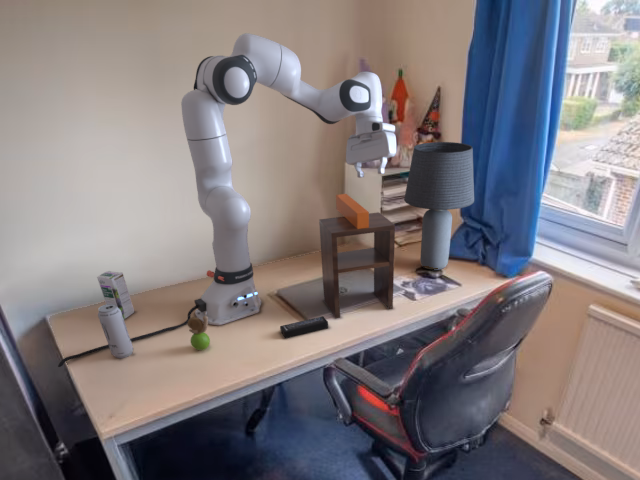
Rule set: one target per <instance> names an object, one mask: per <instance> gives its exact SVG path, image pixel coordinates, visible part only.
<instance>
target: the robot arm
mask: <svg viewBox="0 0 640 480" xmlns="http://www.w3.org/2000/svg"><path fill="white" fill-rule="evenodd" d="M300 61H301V60H300V59H299V57H298V55H297V54H296V53H295V52H294V51H293V50H291V49H290V48H289V47H286V46H285V45H283V44H281V43H278V42H277V41H274V40H272V39H269V38H267V37H264V36H261V35H259V34H258V35H257V34H253V33H250V32H249V33H247V32H246V33H242V34H241V35H239V36H238V37H237V38H236V40H235V42H234V44H233V49H232V53H231V54H230V55H229V56H226V55H210V56H207V57H205V58H203V59H202V60H201V61H200V62H199V63H198V65H197V68H196V72H195V79H194V84H193V90H190V91H188V92H187V93H185V94H184V95H183V97H182V98H181V102H180V103H181V116H182V123H183V128H184V133H185V137H186V141H187V145H188V148H189V153H190V157H191V160H192V164H193V169H194V175H195V183H196V190H197V201H198V204H199V207H200V209H201V210H202V211H203V213H204V214H205V215H206V216H207V217H208V218H210V220H211V223H212V230H213V231H212V233H213V234H212V235H213V239H212V243H211V245H212V251H213V252H212V253H213V257H214V261H215V268H214V271H212V270H209V269H208V270H207V271H206V274H205V275H206V276H207V277H209V278H211V279H212V278H213V281H212V282H211V283H210V284H209V286H208V287H207V288H206V289H205V291H204V292H203V294H202V295H201V296H200V298H197V299H195V300H194V306H193V307H192V308H191V309H190V310H189V311H188V312H187V317H186V318H187V319H186V320H185V321H184V322H182V323H181V324H178V325H173V326H168V327H165V328H162V329H159V330H156V331H152V332H149V333H146V334H142V335H138V336H135V337H130V340H131V343H132V342H135V341H138V340H142V339H145V338H149V337H153V336H156V335H159V334H162V333H166V332H168V331H174V330H176V329H179V328H181V327H184V326H186V325H188V320H189V319H190V318H192V313H193V312H194V311H195V312H194V314H195V317H196V318H199V319H200V320H201V321H202V322H203V323H204V320H203V316H207V317H208V325H211V326H222V325H225V324H228V323H232V322H234V321H237V320H241V319H244V318H246V317H249V316H253V315H256V314H258V313H260V307H261V305H262V300H261V297H260V296H259V294H258V291H257V287H256V284H255V279H254V268H253V263H252V262H251V258H250V257H251V256H250V252H249V241H248V232H249V230H248V229H249V222H250V220H251V217H252V215H251V214H252V213H251V212H252V211H251V207H250V204H249V203H248V201H247V200H246V199H245V197H244V196H243V195H242V194H241V193H239V192H238V191H236V190H235V188H234V186H233V178H232V177H233V176H232V167H233V158H232V153H231V149H230V148H231V147H230V143H229V139H228V135H227V130H226V126H225V122H224V110H225V107H226V105H229V106H239V105H242V104H243V103H245V102H247V100H248V99H250V97H251V95H252V92H253V90H254V87H255V85H256V83H257V84H259V85H262V86H264V87H267V88H268V89H271V90H274V91H276V92H278V93H279V94H280V95H282V96H283V97H285V98H287V99H288V100H290V101H292V102H293V103H295V104H298V105H300V106H301V107H304V108H306V109H307V110H309V111H311V112H312V113H314V114H315V116H316V117H318V119H319V120H321V121H322V122H323V123H324V124H327V125H334V124H337V123H339V122H340V121H342V120H345V119H347V118H349V117H352V116H354V117H355V134H351V135H349V137H348V139H347V141H346V147H345V148H346V149H345V162H346V163H347V165H349V166H351V165H352V166H353V167H354V169H355V171H356V173H357V174H356V176H357V178H359V179H361V178H365V172H364V171H362V164H366V163H369V162H375V161H379V162H380V163H379V164H380V165H379V167H377V174H378V175H383V174H385V168H386V166H387V163H388V159H389V158H393V157H395V156H396V154H397V137H396V134H395V132H396V126H395V125H394V124H391V123H386V122H385V121H384V119H383V114H382V109H383V89H382V83H381V80H380V77H379V76H378V74H376V73H374V72H372V71H366V70H365V71H359V72H357V74H356V75H355V76H353V77H351V78H349V79H344V80H342V81H340V82H338V83H336V84H335V85H332V86H331V87H329V88H325V89H324V88H323V89H318V88H316V87H314V86H313V85H311V84H309V83H307V82H305V81H304V80H302V79H301V76H302V66H301V62H300ZM205 312H207V315H205ZM106 349H110V348H109V345H108V344H105V345H101V346H99V347H98V346H97V347H95V348H93V349H88V350H86V351H83V352H81V353H77V354H72V355H68V356H66V357H64V358H63V359H61V360H60V362H59V363H58V365H57V367H58V368H61V367H63V365H64V364H65V363H66V362H68V361H71V360H75V359H78V358H81V357H84V356H86V355H90V354H93V353H95V352H99V351H102V350H106Z"/></svg>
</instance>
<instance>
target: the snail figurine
mask: <svg viewBox="0 0 640 480" xmlns="http://www.w3.org/2000/svg"><path fill="white" fill-rule="evenodd" d="M205 315H207V312H205ZM203 320H204V322H203V321H201V320H200V319H199V318H197V317H196V316H193V317H192V316H191V318H190V319H189V320H188V323H187V327H188V328H189V329H188V331H189V332H190V333H192V335H191V337H190V344H191V346H192V348H194V349H195V350H197V351H204V350H206V349H208V348H209V346H210V344H211V340H210V339H211V338H210V336H209V335H208V333H206V331H207V329H208V325H209V324H208V317H207V316H203Z"/></svg>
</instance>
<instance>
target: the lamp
mask: <svg viewBox="0 0 640 480" xmlns="http://www.w3.org/2000/svg"><path fill="white" fill-rule="evenodd" d="M473 150H474V149H473V146H472V145H470V144H467V143H462V142H453V141H432V142H423V143H419V144H415V145H414V147H413V151H412V156H411V161H410V166H409V172H408V178H407V183H406V188H405V194H404V199H403V201H404V202H405V203H406V204H407V205H409V206H412V207H415V208H418V209H424V210H426V211H425V212H424V213H423V216H422V224H421V225H422V226H421V243H420V244H421V245H420V259H419V260H420V265H421V266H422V267H423V266H429V267H433V268H438V269H434V270H433V271H441V270H443V269H444V268H446V267H447V266H448V263H449V257H450V247H451V239H452V238H451V237H452V236H451V235H452V224H453V214H452V213H451V211H450V210H458V209H464V208H466V207H470V206H471V205H473V204H474V203H475V181H474V151H473Z"/></svg>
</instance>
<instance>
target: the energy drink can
mask: <svg viewBox="0 0 640 480" xmlns="http://www.w3.org/2000/svg"><path fill="white" fill-rule="evenodd" d="M97 309H98V313H97V317H98V320H99V324H100V325H101V328H102V332H103V334H104V336H105V338H106V342H107V345H109V348H108V349H109V351H110V353H111V355H112V356H114V357H115V358H117V359H125V358H128V357H129V356H131V355H132V354H133V351H134V346H133V343H132V342H131V340H130V339H131V337H130V334H129V330H128V328H127V324H126V322H125V319H123V316H122V313H121V310H120V309H119V308H118V307H117V305H115V304H106V303H105V304H103V305H101V306H99V307H98V308H97Z"/></svg>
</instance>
